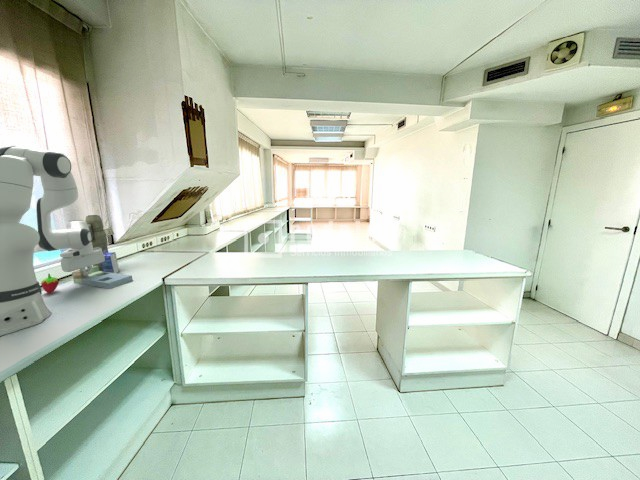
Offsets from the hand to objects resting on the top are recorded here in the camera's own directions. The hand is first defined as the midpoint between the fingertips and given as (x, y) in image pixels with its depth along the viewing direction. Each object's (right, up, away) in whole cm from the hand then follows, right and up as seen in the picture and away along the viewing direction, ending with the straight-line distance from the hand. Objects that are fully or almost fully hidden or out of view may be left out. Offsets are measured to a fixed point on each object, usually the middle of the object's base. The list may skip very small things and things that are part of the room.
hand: (87, 274), depth 139 cm
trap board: (+7, -4, +2) cm, 9 cm away
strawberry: (-6, -8, -12) cm, 16 cm away
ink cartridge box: (+1, -2, +16) cm, 16 cm away
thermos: (-9, -1, +21) cm, 22 cm away
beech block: (-3, -2, 0) cm, 3 cm away
